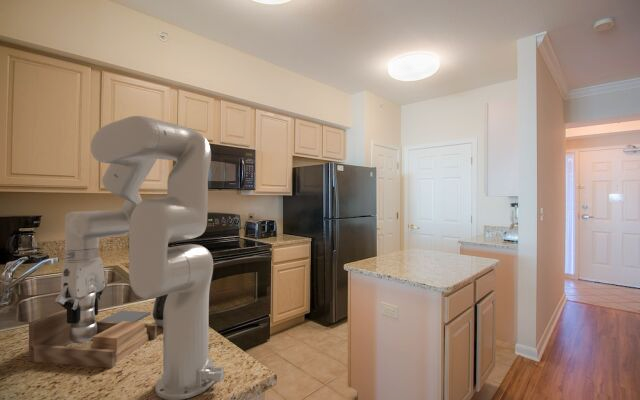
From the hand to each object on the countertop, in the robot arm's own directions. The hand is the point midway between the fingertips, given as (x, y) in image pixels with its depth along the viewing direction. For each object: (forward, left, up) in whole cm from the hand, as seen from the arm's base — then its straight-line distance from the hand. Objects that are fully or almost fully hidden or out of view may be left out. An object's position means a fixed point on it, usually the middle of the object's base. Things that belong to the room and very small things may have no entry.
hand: (83, 318), depth 87 cm
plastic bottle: (0, 0, -7) cm, 7 cm away
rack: (-5, 0, -8) cm, 10 cm away
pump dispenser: (-15, -18, -9) cm, 25 cm away
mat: (+4, -20, -8) cm, 22 cm away
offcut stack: (-12, 0, -8) cm, 14 cm away
